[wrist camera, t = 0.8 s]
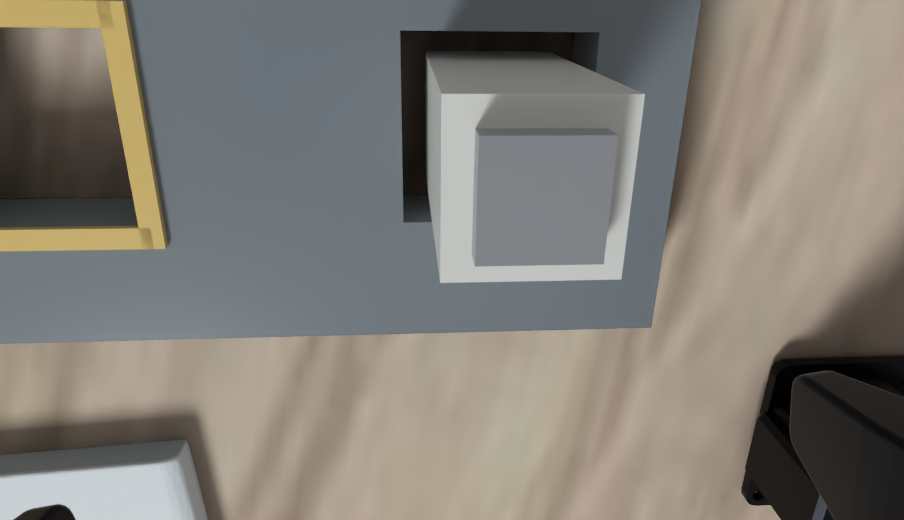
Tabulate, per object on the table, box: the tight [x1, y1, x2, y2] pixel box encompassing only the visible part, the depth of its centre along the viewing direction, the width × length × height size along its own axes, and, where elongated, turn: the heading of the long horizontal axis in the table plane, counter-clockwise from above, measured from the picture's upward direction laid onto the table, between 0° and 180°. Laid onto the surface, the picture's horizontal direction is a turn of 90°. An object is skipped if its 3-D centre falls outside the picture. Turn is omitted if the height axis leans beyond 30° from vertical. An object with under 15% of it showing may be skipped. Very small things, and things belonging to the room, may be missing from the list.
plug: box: [425, 51, 645, 283], centre depth 15 cm, size 4×4×9 cm
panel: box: [0, 0, 701, 344], centre depth 18 cm, size 22×12×3 cm, turn 89°
